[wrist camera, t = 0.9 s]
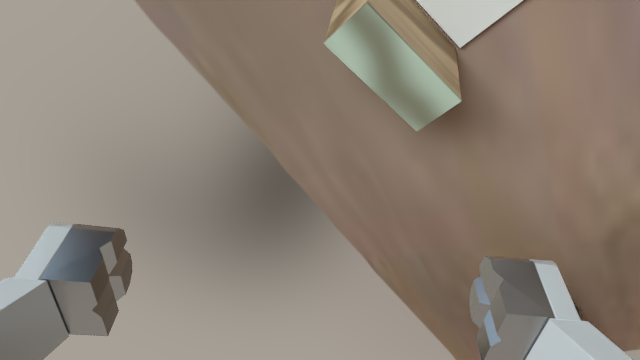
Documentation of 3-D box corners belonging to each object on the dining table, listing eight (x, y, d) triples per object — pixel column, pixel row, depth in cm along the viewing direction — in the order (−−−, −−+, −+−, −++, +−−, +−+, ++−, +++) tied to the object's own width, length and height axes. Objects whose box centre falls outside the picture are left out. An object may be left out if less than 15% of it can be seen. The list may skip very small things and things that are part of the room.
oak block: (375, -40, 47) (367, 3, 40) (455, 47, 52) (461, 101, 44) (337, -3, 50) (323, 43, 43) (417, 76, 55) (416, 131, 47)
